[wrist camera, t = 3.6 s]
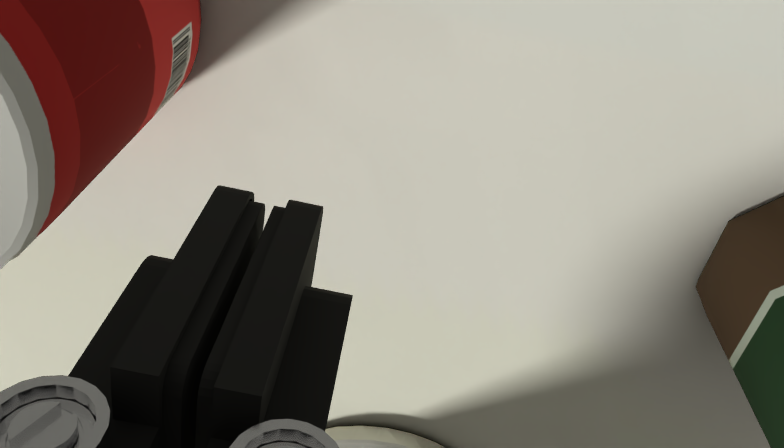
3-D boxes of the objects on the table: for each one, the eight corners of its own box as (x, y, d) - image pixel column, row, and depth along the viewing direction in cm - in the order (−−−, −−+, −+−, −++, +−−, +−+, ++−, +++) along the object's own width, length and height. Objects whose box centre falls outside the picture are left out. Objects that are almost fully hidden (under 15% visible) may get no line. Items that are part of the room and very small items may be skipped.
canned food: (140, -176, 20) (-138, -157, 11) (247, 78, 24) (113, 256, 14) (-71, -94, 22) (-472, -16, 12) (61, 131, 26) (-168, 320, 16)
